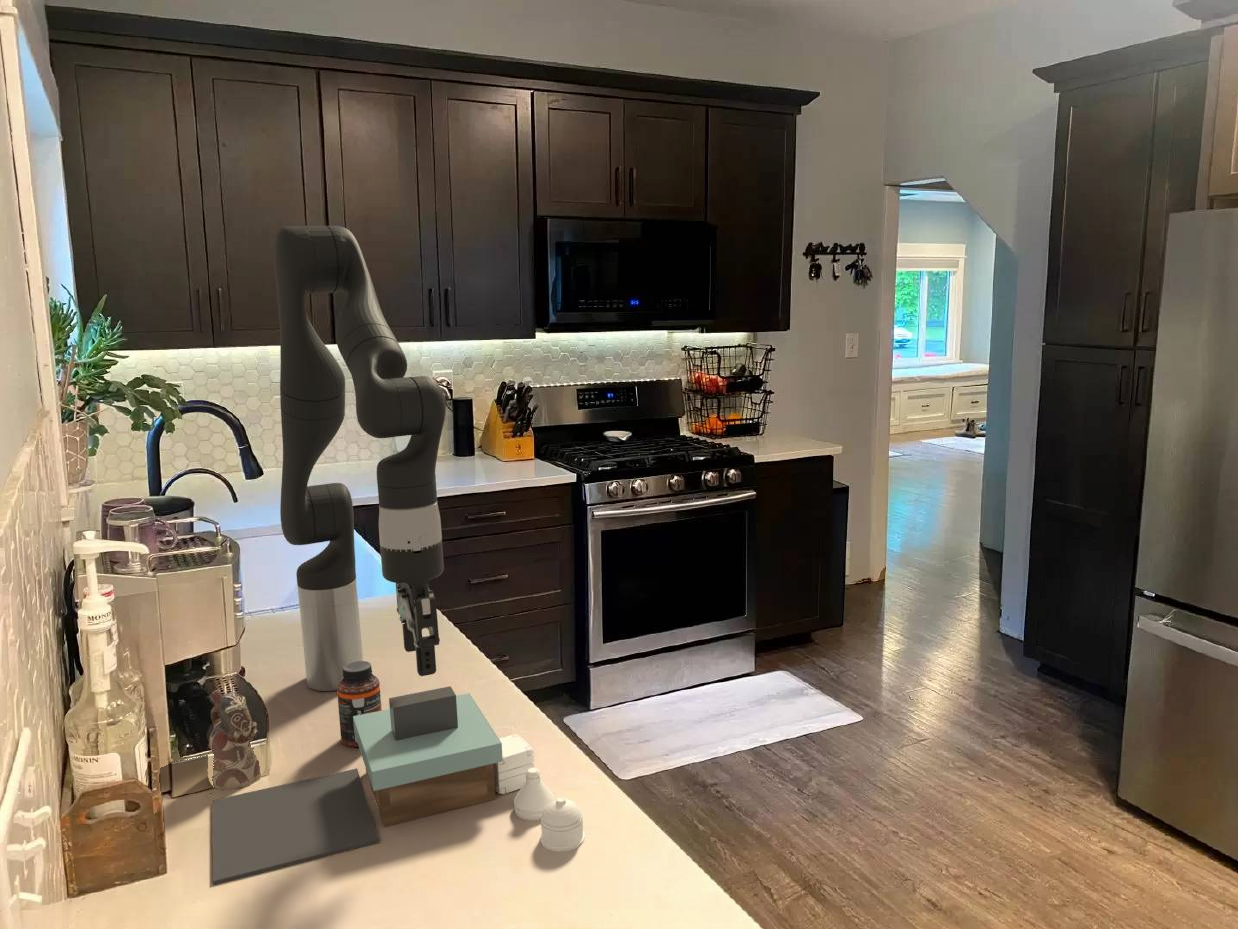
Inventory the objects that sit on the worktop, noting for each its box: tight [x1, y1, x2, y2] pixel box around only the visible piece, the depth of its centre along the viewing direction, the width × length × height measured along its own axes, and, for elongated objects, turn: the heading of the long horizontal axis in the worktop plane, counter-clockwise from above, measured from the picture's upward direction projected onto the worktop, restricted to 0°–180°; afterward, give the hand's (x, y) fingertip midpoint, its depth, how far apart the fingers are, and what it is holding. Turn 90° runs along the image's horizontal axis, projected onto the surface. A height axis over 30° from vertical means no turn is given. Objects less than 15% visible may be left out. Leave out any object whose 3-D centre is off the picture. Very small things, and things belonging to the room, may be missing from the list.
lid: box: [353, 685, 503, 791], centre depth 120 cm, size 16×16×7 cm
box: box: [365, 763, 496, 828], centre depth 121 cm, size 14×14×7 cm
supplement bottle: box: [336, 660, 382, 748], centre depth 133 cm, size 6×6×11 cm
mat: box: [212, 768, 380, 885], centre depth 114 cm, size 18×18×1 cm
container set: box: [494, 734, 586, 853], centre depth 115 cm, size 20×5×6 cm, turn 31°
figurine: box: [208, 689, 262, 791], centre depth 124 cm, size 7×7×12 cm
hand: (420, 661), depth 118 cm, fingers open, 8 cm apart
